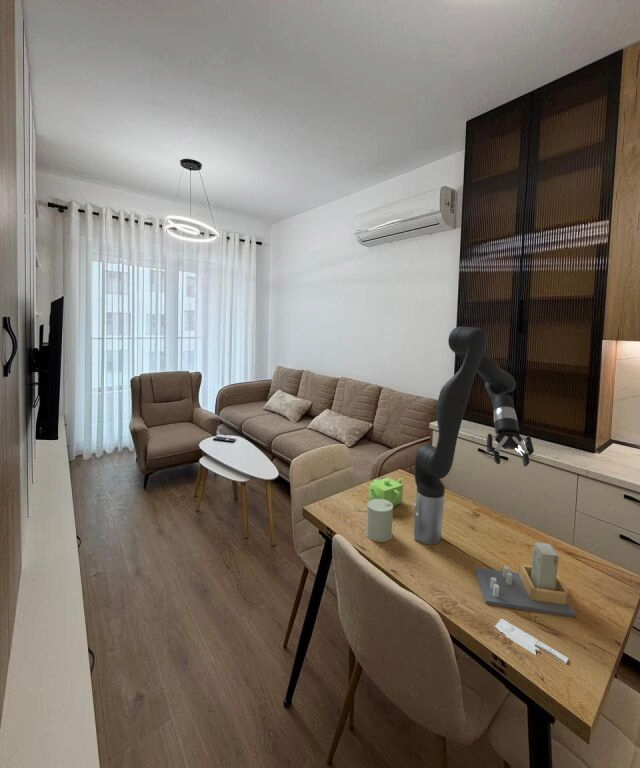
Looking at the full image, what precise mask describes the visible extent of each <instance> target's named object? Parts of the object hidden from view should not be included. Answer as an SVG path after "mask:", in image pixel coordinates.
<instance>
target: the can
mask: <svg viewBox="0 0 640 768" xmlns="http://www.w3.org/2000/svg"><path fill="white" fill-rule="evenodd" d="M366 505H367V507H366V530H365V534H366V537H367V538H368V539H370V540H371V541H373V542H377V543H383V542H384V543H385V542H389V541H390V540H391V539H392V537H393V533H392V530H393V511H394V506H393V504H392V503H391V502H389V501H387V500H384V499H372V500H370V501H369V500H368V501H367V503H366Z"/></svg>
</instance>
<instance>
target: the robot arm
mask: <svg viewBox="0 0 640 768" xmlns="http://www.w3.org/2000/svg"><path fill="white" fill-rule="evenodd" d="M450 331H451V332H450V333H449V335H448V338H447V339H448V340H447V341H448V346H449V349H450V350H451V351H452V352H453V353H454V354H455V355H457V356H458V357H460V358H461V359H462V360H463V362H462V365H461V366H460V367H459V369H458V371H456V373H455V374H454V375H452V377H451V378H450V379H448V381H446V383H444V385H443V386H442V388H440V392H439V396H438V398H437V402H436V405H435V406H436V407H435V416H436V422H437V423H436V424H437V427H438V429H437V430H438V437H437V443H436V445H435V446H434V445H431V444H425V445H422V446H421V447H420V448H419V449H418V450H417V453H416V455H415V460H414V461H415V462H414V481H415V484H416V498H415V499H416V500H415V502H416V505H415V507H414V522H413V537H414V538H413V539H414V540H415V541H418V542H420V543H422V544H426V545H437V544H439V543H440V542H441V540H442V533H443V532H442V531H443V518H444V517H443V516H444V502H445V501H444V498H445V492H446V491H445V489H446V488H445V485H444V482H443V481H442V480H441V479H444V478H445V477H447V476H448V474H449V473H450V471H451V469H452V466H453V464H454V457H455V453H456V452H455V451H456V447H457V442H458V437H459V432H460V428H461V425H462V421H463V418H464V415H465V412H466V409H467V405H468V402H469V399H470V394H471V391H472V390H471V389H472V387H473V384H474V380H475V378H476V374H478V375H479V376H480V377H481V378H482V380H483V381H484V388H485V390H486V392H487V395H488V396H489V398H490V400H491V403H492V411H493V423H494V429H495V430H494V431H495V435H493V434H491V433H488V434H487V436H486V451H487V452H488V453H492V454H493V459H494V462H495V463H496V465H500V463H501V456H500V452H499V451H500V450H501V449H502V448H503V449H505V450H507V449H508V450H509V449H510V450H516V452H517V453H520V454H521V458H522V464H523V467H527V466H528V465H529V464H530V457H529V456H532V455H533V453H534V452H535V449H534V445H533V442H532V437H530V436H526V437H522V436H521V434H520V429H519V428H520V427H519V423H518V422H519V421H518V417H517V414H516V410H515V404H514V399H513V397H512V396H511V395H508V393H511V392H513V391H514V390H515V389H516V387H517V382H516V380H515V378H514V376H513V375H512V374H511V373H509V372H508V371H505V370H504V369H502V368H501V367H500V366H499V365H498V363H497V362H496V360H494V359H493V358H492V357H491V356H489V355H487V354H485V352H486V348H487V346H488V337H489V336H488V332H487V330H485V329H484V328H480V327H472V326H456V327H454V328H453V329H452V330H450ZM494 441H496V442H497V446H496V447H495V448H494V447H493V442H494ZM522 443H523V444H524V445H525V446H524V445H523V444H522Z"/></svg>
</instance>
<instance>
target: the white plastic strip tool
mask: <svg viewBox="0 0 640 768" xmlns="http://www.w3.org/2000/svg"><path fill="white" fill-rule="evenodd" d="M495 627H496V628H497V629H498V630H499V631H500V632H503V633H504V634H505V635H506V636H505V637H506V638H508V639H509V638H510V639H509V640H511V641H512V642H514V643H516V644H517V645H519V646H520V647H522V648H524V649H525V650H526V651H528V652H530V653H531V654H533V655H535V656H536V655H537V652H540V649H542V650H544V651H545V652H547V653H549V654H551V655H552V656H553V657H555V658H556V659H558V660H559V661H561V662H562V663H563V664H565V665H566V664H567V663H568V661H569V659H570V658H569V657H567V656H565V655H564V654H562V653H560V652H558V651H557V650H555V649H554V648H552V647H550V646H549V645H547V644H546V643H543V642H542V641H540V640H538V638H536V637H534V636H532V635H531V634H529V633H527V632H526V631H524V630H522V629H521V628H519V627H517V626H515V625H513V624H511V623H510V622H509V621H507V620H505V619H503V618H500V619H499V621H497V622H496V624H495V626H494V628H495ZM500 632H499V633H500Z"/></svg>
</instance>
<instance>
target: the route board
mask: <svg viewBox="0 0 640 768" xmlns="http://www.w3.org/2000/svg"><path fill="white" fill-rule="evenodd" d="M531 570H532V564H530V565H529V564H522V563H519V564H518V572H515V571H510V567H509V566H508V565H506V566H505V565H504V566H503V569H502V570H501V569H500V570H499V569H490V568H483V567H477V566H475V567H474V571H475V573H476V577H477V580H478V583H479V587H480V591H481V593H482V596H483V600H484V603H485V604H486V605H492V606H498V607H504V608H505V607H506V608H511V609H519V610H524V611H531V612H537V613H538V612H539V613H543V614H544V613H545V614H551V615H558V616H565V617H572V618H576V617H577V613H576V612H575V610H574V608H573V606H572V605H571V599H572V594H571V592H570V591H569V590H568V588H567V587H566V585H565V584H564V582H563V580H562V579H561V577H560V576H559V574H558V573H557V576H556V585H555V591H554V590H547V589H540V588H535V587H534V585H533V583H532V581H531Z"/></svg>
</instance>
